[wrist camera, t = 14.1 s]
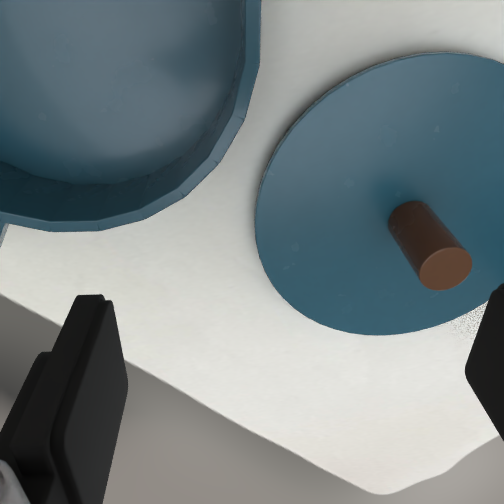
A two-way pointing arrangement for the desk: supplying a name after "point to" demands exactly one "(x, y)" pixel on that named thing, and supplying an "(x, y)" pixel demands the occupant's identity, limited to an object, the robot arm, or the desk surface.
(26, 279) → the desk surface
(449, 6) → the desk surface
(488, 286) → the tin lid
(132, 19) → the tin
